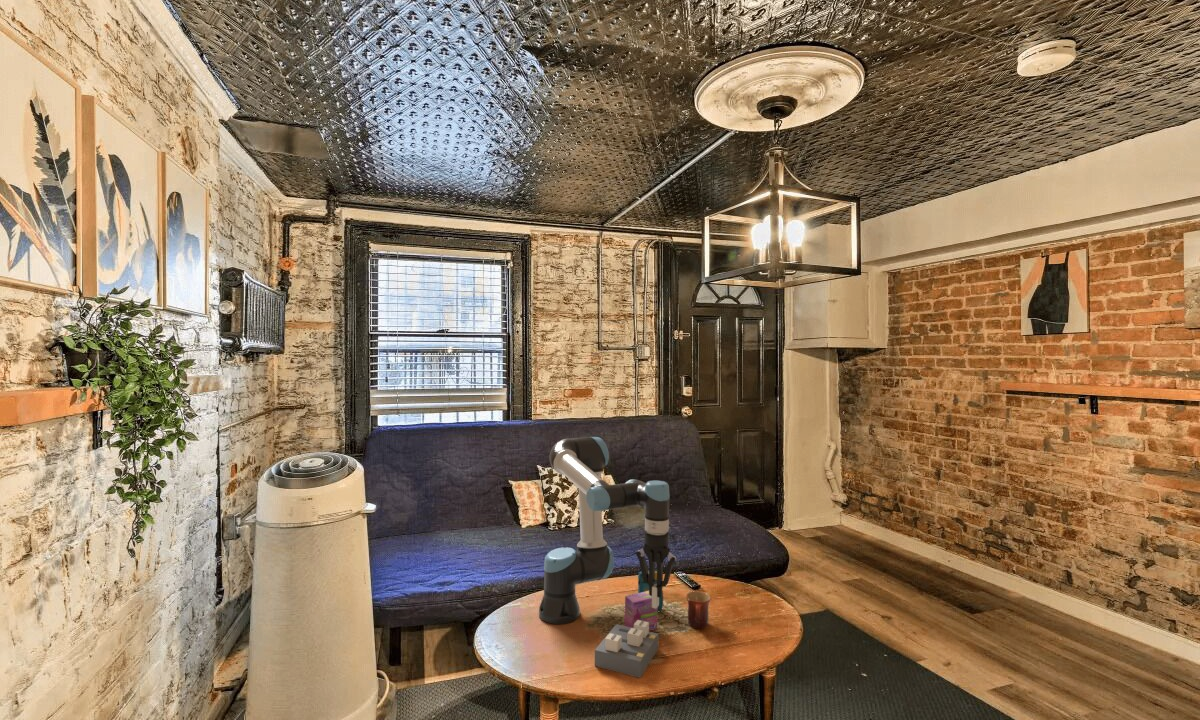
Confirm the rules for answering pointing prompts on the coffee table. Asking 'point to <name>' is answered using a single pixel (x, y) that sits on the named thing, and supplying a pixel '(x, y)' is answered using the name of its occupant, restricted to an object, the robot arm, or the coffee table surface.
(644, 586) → the teal carton
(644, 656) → the switch unit
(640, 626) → the slider
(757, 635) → the coffee table surface
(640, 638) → the slider
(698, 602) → the mug
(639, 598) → the box
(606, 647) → the slider
